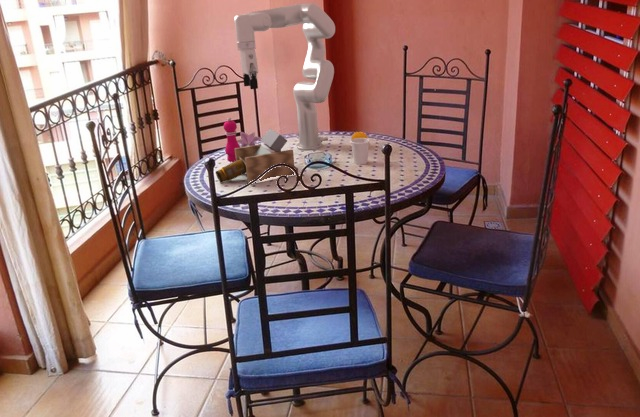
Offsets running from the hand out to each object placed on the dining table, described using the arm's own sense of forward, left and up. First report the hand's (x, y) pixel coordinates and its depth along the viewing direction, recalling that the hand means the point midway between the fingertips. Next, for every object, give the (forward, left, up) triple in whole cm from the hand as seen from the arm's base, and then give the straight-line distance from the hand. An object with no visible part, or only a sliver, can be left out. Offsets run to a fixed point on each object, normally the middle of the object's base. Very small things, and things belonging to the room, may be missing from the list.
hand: (251, 87), depth 233 cm
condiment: (+10, +17, -29) cm, 35 cm away
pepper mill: (+8, -14, -34) cm, 38 cm away
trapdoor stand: (+1, +16, -34) cm, 38 cm away
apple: (-50, +1, -35) cm, 61 cm away
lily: (-3, -27, -35) cm, 44 cm away
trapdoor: (+1, +16, -27) cm, 32 cm away
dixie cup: (-39, +24, -34) cm, 57 cm away
